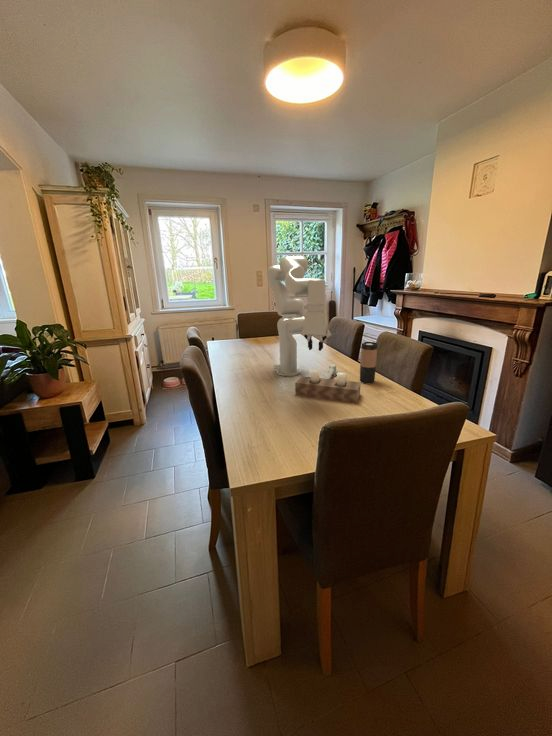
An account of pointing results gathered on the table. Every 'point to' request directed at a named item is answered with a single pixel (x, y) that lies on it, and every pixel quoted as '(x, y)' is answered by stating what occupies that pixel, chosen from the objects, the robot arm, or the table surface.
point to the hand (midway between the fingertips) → (315, 349)
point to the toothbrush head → (330, 372)
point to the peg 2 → (341, 379)
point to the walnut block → (328, 389)
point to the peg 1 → (315, 376)
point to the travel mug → (368, 362)
